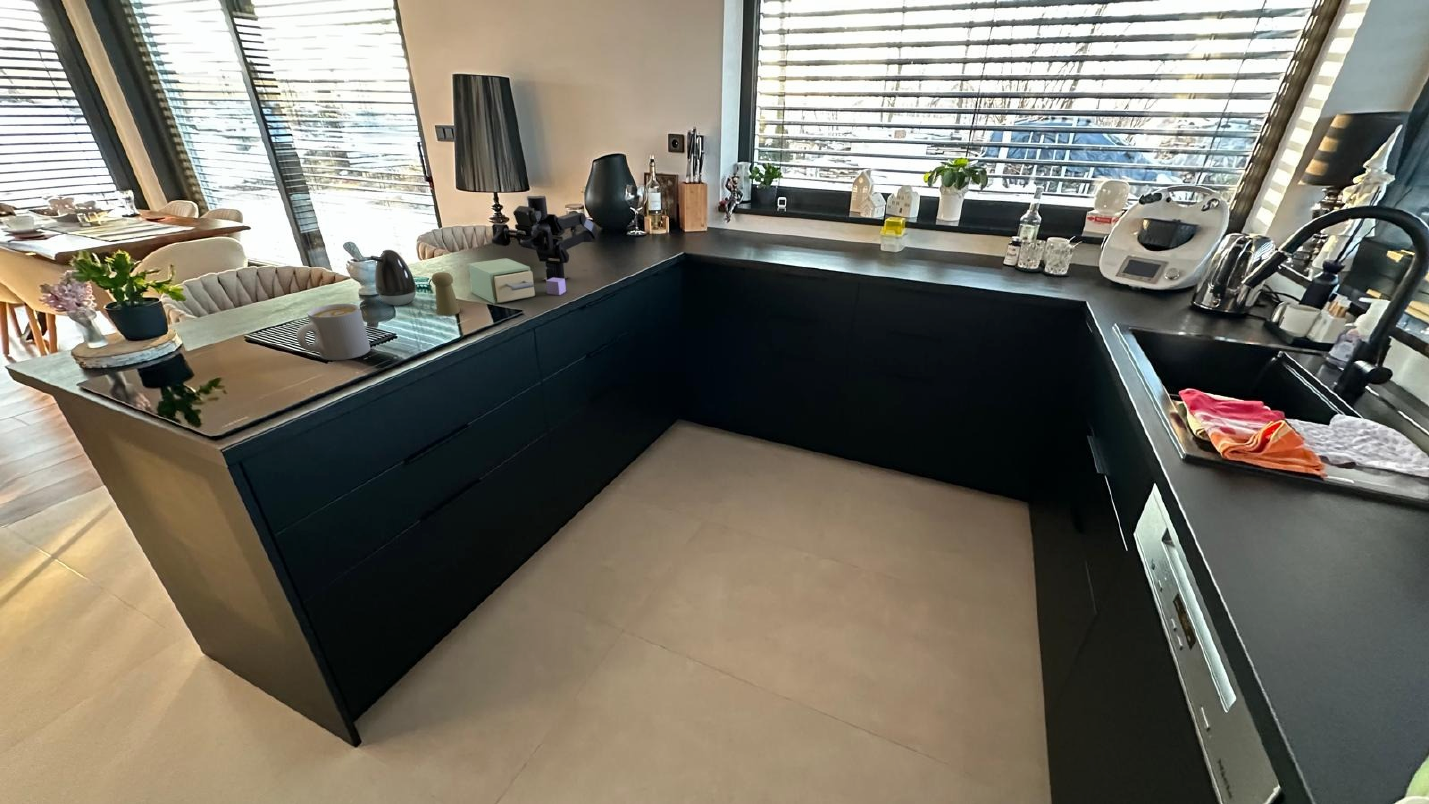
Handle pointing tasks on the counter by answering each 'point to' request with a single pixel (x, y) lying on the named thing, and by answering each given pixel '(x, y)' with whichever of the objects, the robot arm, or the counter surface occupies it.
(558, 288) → the soap block
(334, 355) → the coffee mug
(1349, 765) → the counter surface
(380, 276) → the pump dispenser
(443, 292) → the pepper mill
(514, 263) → the green drawer cabinet
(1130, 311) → the counter surface
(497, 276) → the drawer
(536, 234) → the robot arm
